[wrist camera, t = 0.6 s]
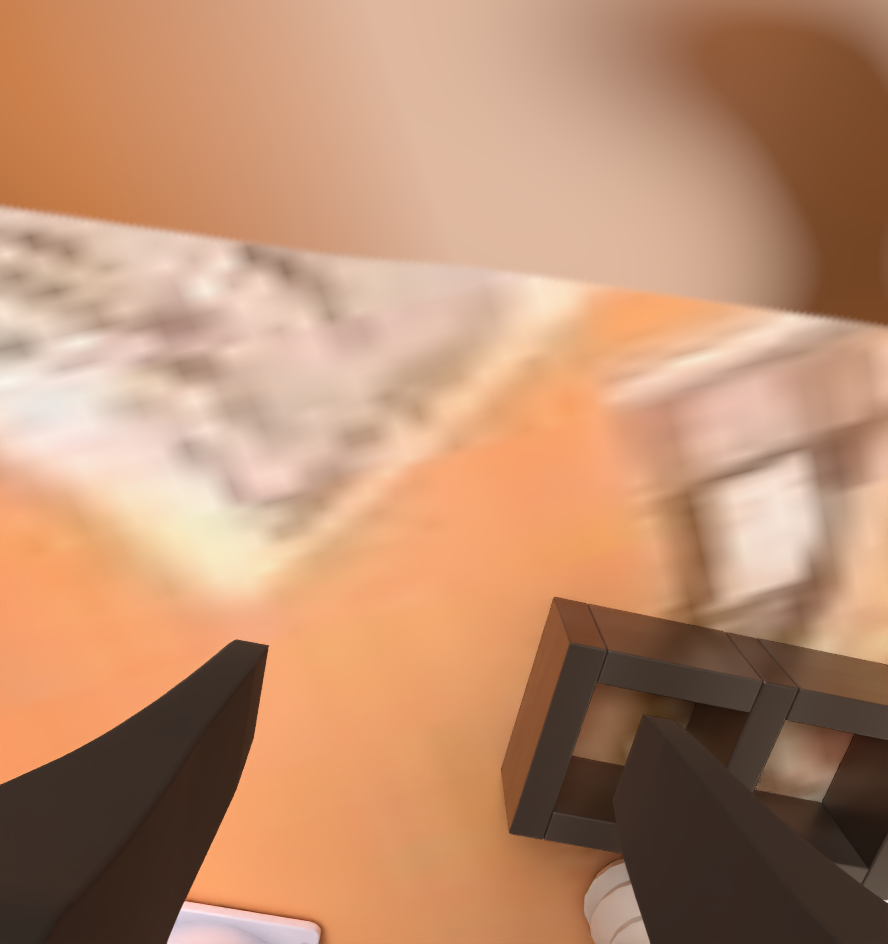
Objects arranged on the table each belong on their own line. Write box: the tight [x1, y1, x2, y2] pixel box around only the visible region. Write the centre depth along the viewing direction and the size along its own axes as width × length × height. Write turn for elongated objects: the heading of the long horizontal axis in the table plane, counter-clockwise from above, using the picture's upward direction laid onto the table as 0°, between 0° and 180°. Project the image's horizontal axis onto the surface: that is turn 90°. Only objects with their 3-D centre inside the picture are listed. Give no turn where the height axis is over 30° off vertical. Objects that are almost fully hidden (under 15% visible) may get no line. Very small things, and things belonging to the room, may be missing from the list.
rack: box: [501, 597, 888, 900], centre depth 23 cm, size 14×7×3 cm, turn 77°
